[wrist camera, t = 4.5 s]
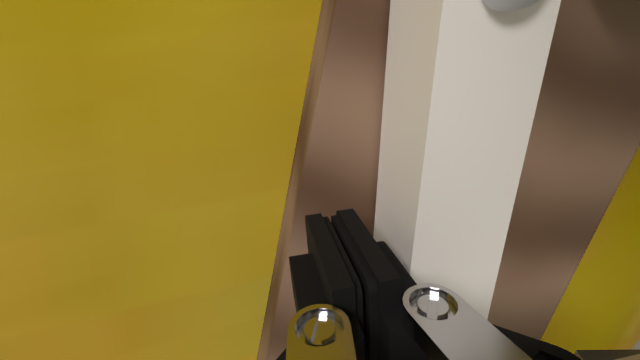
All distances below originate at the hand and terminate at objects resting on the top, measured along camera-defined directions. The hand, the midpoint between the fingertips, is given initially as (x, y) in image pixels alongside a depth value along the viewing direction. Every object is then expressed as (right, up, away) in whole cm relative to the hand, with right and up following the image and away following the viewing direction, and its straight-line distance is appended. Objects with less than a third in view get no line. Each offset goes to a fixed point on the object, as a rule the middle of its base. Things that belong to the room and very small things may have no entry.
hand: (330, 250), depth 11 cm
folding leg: (+3, +4, 0) cm, 5 cm away
